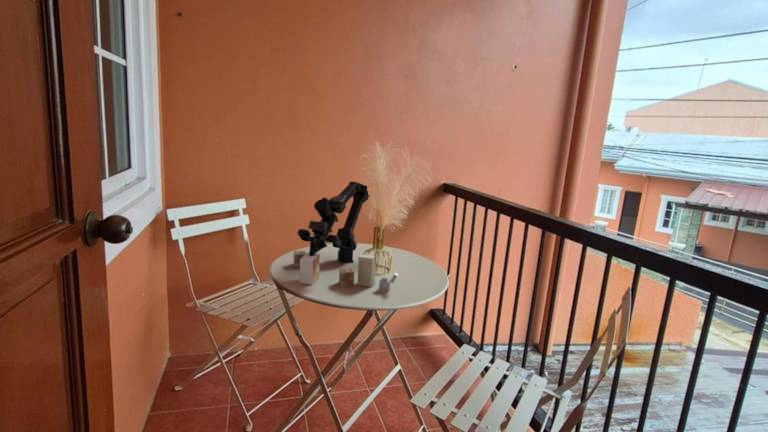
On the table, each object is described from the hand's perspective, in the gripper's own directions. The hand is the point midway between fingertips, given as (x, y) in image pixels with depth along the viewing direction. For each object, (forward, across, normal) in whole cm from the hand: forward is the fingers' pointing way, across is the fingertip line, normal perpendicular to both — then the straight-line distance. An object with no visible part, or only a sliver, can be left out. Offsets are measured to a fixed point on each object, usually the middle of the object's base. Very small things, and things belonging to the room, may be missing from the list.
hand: (310, 255), depth 159 cm
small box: (+7, 0, +8) cm, 11 cm away
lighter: (+2, +31, +14) cm, 34 cm away
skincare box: (+1, +21, +15) cm, 26 cm away
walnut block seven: (-1, -14, +16) cm, 21 cm away
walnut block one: (+4, +14, +12) cm, 19 cm away
